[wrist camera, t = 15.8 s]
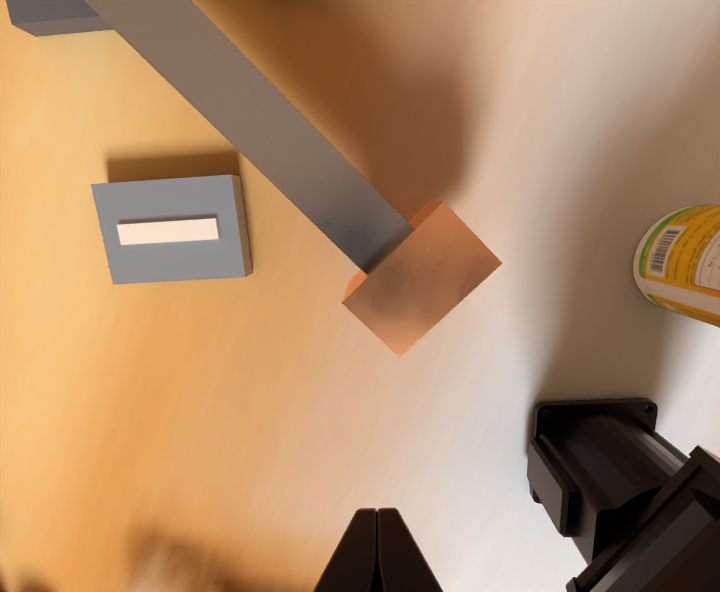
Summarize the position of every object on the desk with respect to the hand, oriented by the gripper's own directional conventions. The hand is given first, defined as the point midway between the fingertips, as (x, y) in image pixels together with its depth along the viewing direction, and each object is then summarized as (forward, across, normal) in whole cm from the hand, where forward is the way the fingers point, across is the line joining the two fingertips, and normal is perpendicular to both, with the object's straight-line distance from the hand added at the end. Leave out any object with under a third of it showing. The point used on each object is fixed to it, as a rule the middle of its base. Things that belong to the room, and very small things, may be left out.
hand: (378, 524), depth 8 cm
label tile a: (+13, +10, -6) cm, 17 cm away
